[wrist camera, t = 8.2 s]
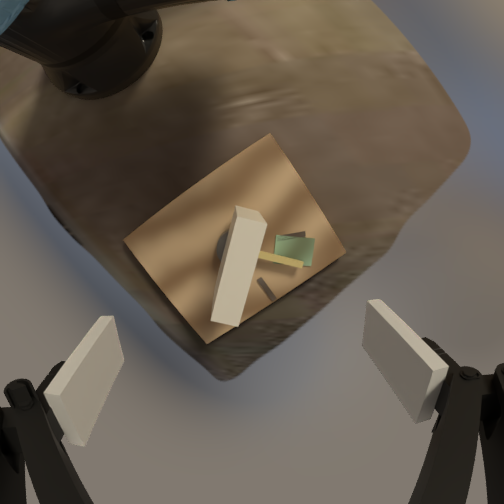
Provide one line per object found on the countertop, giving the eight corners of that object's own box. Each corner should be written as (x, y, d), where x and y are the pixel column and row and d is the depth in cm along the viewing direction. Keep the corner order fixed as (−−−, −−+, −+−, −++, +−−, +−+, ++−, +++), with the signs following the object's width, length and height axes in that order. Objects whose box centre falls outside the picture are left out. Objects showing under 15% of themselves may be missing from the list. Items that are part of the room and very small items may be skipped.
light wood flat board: (126, 237, 36) (122, 240, 34) (268, 134, 34) (270, 132, 32) (207, 338, 39) (206, 344, 38) (342, 249, 38) (346, 252, 36)
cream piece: (208, 279, 36) (201, 318, 26) (227, 201, 34) (226, 213, 24) (288, 297, 37) (307, 340, 27) (311, 223, 35) (341, 243, 25)
